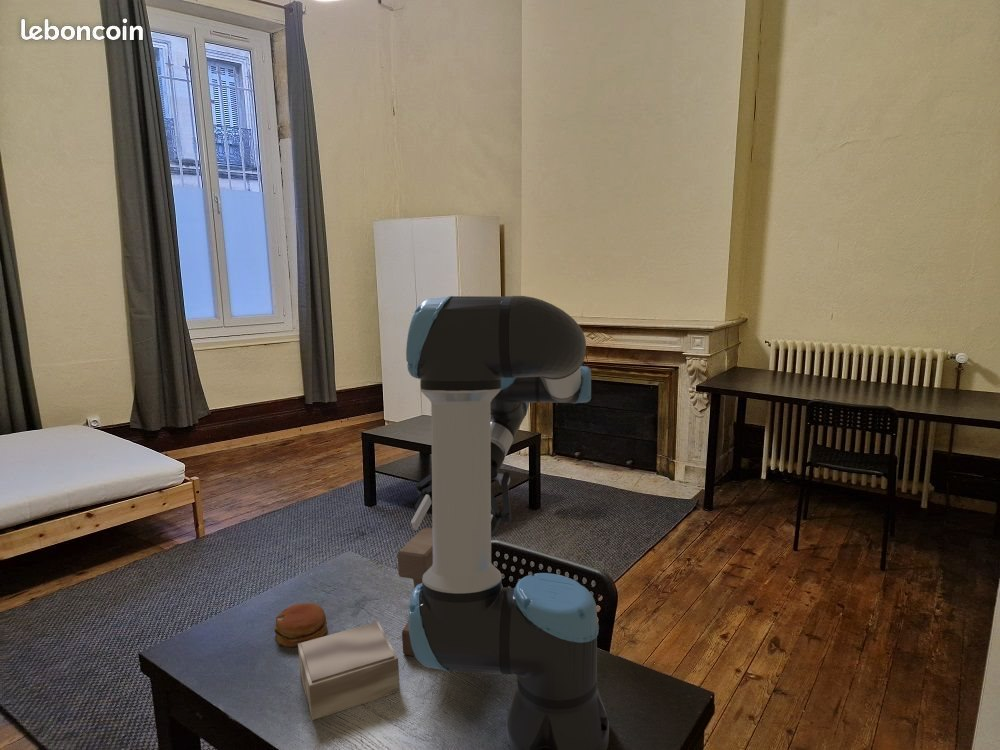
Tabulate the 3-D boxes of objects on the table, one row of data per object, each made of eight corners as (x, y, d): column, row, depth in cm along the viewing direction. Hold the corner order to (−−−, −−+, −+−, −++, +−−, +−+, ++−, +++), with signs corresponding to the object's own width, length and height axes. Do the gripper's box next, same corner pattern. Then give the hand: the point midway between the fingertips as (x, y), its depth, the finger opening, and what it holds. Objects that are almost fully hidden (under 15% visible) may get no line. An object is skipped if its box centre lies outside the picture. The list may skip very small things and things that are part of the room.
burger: (336, 633, 118) (334, 610, 117) (290, 655, 111) (288, 632, 110) (311, 613, 125) (309, 592, 124) (267, 633, 118) (264, 611, 117)
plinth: (399, 691, 101) (397, 656, 100) (312, 720, 95) (309, 683, 94) (380, 651, 111) (378, 619, 110) (300, 675, 105) (297, 642, 104)
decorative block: (429, 661, 108) (424, 555, 105) (401, 655, 110) (395, 551, 107) (454, 626, 119) (450, 529, 115) (428, 621, 121) (423, 525, 117)
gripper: (546, 475, 126) (508, 566, 114) (439, 445, 135) (392, 527, 122) (544, 453, 121) (504, 547, 108) (432, 424, 129) (383, 507, 116)
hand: (445, 537), depth 115 cm, fingers open, 13 cm apart
